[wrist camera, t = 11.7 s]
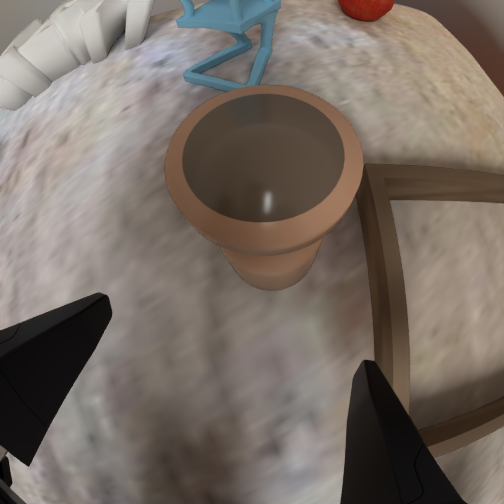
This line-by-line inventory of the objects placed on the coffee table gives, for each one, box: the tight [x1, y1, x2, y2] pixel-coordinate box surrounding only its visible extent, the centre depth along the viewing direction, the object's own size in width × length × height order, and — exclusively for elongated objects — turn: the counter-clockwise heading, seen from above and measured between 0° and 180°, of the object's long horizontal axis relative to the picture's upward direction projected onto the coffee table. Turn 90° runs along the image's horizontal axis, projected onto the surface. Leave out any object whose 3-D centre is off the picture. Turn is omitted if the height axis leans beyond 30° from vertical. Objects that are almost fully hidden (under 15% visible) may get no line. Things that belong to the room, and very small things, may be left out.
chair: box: [176, 0, 281, 92], centre depth 18 cm, size 8×8×12 cm
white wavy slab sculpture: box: [0, 0, 155, 111], centre depth 25 cm, size 35×16×11 cm, turn 97°
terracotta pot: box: [165, 85, 363, 291], centre depth 13 cm, size 6×6×10 cm
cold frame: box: [356, 164, 504, 458], centre depth 14 cm, size 18×18×3 cm
